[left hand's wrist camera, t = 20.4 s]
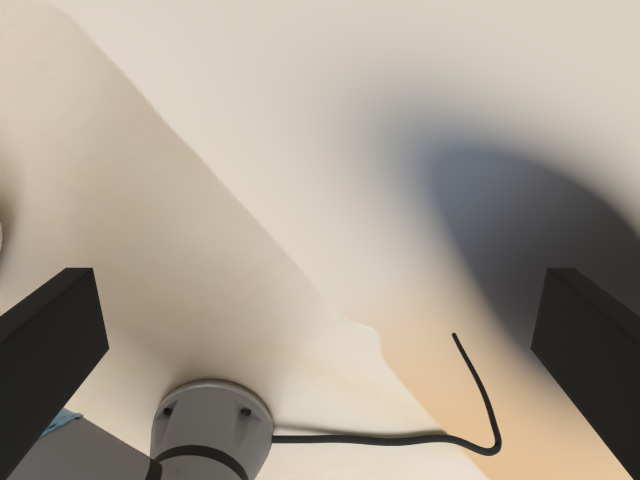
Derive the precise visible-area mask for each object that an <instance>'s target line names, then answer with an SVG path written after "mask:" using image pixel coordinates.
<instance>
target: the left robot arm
mask: <svg viewBox="0 0 640 480" xmlns="http://www.w3.org/2000/svg"><path fill="white" fill-rule="evenodd" d="M452 337H453V339H454V341H455V343H456V345H457V347H458V349H459V351H460V353H461V355H462V357H463V359H464V360H465V362H466V364H467V366H468V368H469V370H470V372H471V373H472V375H473V377H474V379H475V381H476V384H477V386H478V388H479V390H480V393H481V395H482V398H483V400H484V403H485V406H486V409H487V413H488V416H489V420H490V424H491V427H492V430H493V434H494V438H495V444H494V446H493V447H492V448H483V447H480V446H477V445H475V444H473V443H471V442H468V441H466V440H464V439H461V438H458V437H455V436H450V435H424V436H416V437H408V438H373V437H361V436H348V435H313V436H273V430H274V427H273V420H272V417H271V414H270V412H269V410H268V408H267V407H266V405H265V404H264V403H263V401H262V400H261V399H260V398H259V397H258V396H257V395H255V394H254V393H253V392H251V391H250V390H248V389H246V388H245V387H243V386H240V385H238V384H235V383H232V382H229V381H224V380H218V379H202V380H196V381H191V382H188V383H185V384H183V385H181V386H179V387H177V388H176V389H174V390H173V391H171V392H170V393H169V394H168V395H167V396H166V397H165V398H164V400H163V401H162V403H161V404H160V406H159V408H158V410H157V412H156V415H155V417H154V421H153V425H152V431H151V446H150V457H148V456H147V455H145V454H143V453H142V452H140V451H138V450H137V449H135V448H133V447H131V446H130V445H128V444H126V443H125V442H123V441H121V440H120V439H118V438H116V437H115V436H113V435H111V434H110V433H108V432H106V431H105V430H103V429H102V428H100V427H98V426H97V425H95V424H93V423H92V422H90V421H88V420H87V419H85V418H83V415H82V414H80V413H73V412H71V411H69V410H67V409H65V408H63V407H64V406H65V404H66V403H67V402H68V401H69V399H70V398H71V397H72V396H73V394H74V393H75V392H76V390H77V389H78V388H79V387H80V385H81V384H82V383H83V381H84V380H85V379H86V378H87V376H88V375H89V374H90V373H91V371H92V370H93V369H94V367H95V366H96V365H97V364H98V362H99V361H100V360H101V359H102V357H103V356H104V355H105V353H106V352H107V351H108V350H109V345H108V340H107V335H106V330H105V325H104V320H103V316H102V311H101V306H100V301H99V296H98V291H97V287H96V282H95V277H94V272H93V268H65V269H64V270H62V271H61V272H60V273H58V274H57V275H56V276H54V277H53V278H52V279H50V280H49V281H48V282H46V283H45V284H44V285H42V286H41V287H39V288H38V289H37V290H35V291H34V292H33V293H31V294H30V295H29V296H27V297H26V298H25V299H23V300H22V301H20V302H19V303H18V304H16V305H15V306H14V307H12V308H11V309H10V310H8V311H7V312H6V313H4V314H3V315H2V316H0V480H255V478H256V476H257V474H258V473H259V471H260V469H261V467H262V465H263V464H264V462H265V460H266V458H267V456H268V454H269V451H270V449H271V445H272V443H356V444H367V445H381V446H403V445H413V444H420V443H429V442H448V443H454V444H457V445H460V446H463V447H465V448H467V449H469V450H472V451H474V452H476V453H479V454H481V455H485V456H492V455H495V454H497V453H498V452H499V451H500V449H501V446H502V439H501V435H500V431H499V428H498V425H497V422H496V418H495V415H494V411H493V408H492V405H491V402H490V400H489V397H488V395H487V392H486V390H485V388H484V386H483V384H482V381H481V380H480V377H479V376H478V374H477V372H476V370H475V368H474V366H473V365H472V363H471V361H470V359H469V358H468V356H467V354H466V352H465V350H464V348H463V347H462V345H461V343H460V341H459V339H458V337H457V335H456V333H452ZM531 350H532V351H533V352H534V353H535V355H536V356H537V357H538V359H539V360H540V361H541V362H542V364H543V365H544V366H545V367H546V369H547V370H548V371H549V373H550V374H551V375H552V376H553V378H554V379H555V380H556V381H557V383H558V384H559V385H560V387H561V388H562V389H563V390H564V392H565V393H566V394H567V396H568V397H569V398H570V399H571V401H572V402H573V403H574V404H575V406H576V407H577V408H578V409H579V411H580V412H581V413H582V415H583V416H584V417H585V418H586V420H587V421H588V422H589V423H590V425H591V426H592V427H593V429H594V430H595V431H596V432H597V434H598V435H599V436H600V438H601V439H602V440H603V441H604V443H605V444H606V445H607V446H608V448H609V449H610V450H611V452H612V453H613V454H614V455H615V457H616V458H617V459H618V460H619V462H620V463H621V464H622V466H623V467H624V468H625V469H626V471H627V472H628V473H629V474H630V476H631V477H632V478H633V480H640V316H638V315H637V314H636V313H634V312H633V311H632V310H630V309H629V308H628V307H626V306H625V305H624V304H622V303H621V302H619V301H618V300H617V299H615V298H614V297H613V296H611V295H610V294H609V293H607V292H606V291H605V290H603V289H602V288H600V287H599V286H598V285H596V284H595V283H594V282H592V281H591V280H590V279H588V278H587V277H586V276H584V275H583V274H582V273H580V272H579V271H578V270H576V269H575V268H547V272H546V277H545V282H544V287H543V291H542V296H541V301H540V306H539V311H538V316H537V320H536V325H535V330H534V335H533V340H532V345H531Z"/></svg>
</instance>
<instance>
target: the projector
mask: <svg viewBox="0 0 640 480" xmlns="http://www.w3.org/2000/svg"><path fill="white" fill-rule="evenodd" d="M1 245H2V227H1V223H0V250H1Z"/></svg>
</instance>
